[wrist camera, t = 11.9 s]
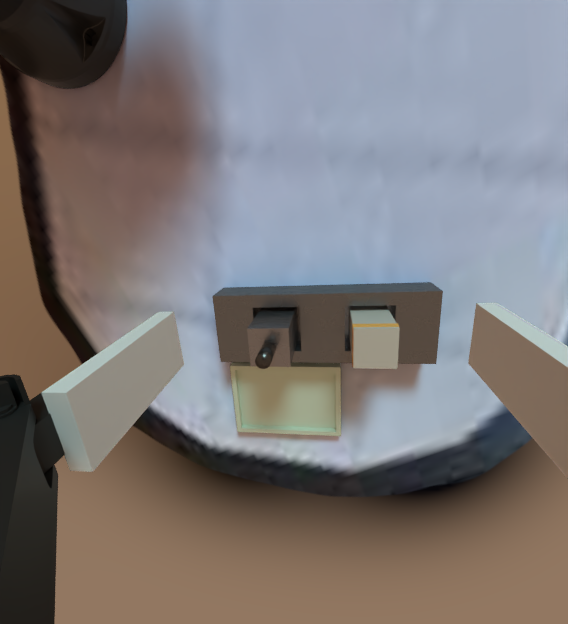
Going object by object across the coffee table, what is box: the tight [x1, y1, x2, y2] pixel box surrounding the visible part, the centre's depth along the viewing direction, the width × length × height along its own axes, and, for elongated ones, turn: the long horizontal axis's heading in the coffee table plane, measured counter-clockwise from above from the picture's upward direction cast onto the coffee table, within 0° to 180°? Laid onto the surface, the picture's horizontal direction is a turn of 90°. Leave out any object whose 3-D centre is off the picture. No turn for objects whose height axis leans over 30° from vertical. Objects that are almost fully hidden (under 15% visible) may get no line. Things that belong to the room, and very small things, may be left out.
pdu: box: [213, 283, 443, 369], centre depth 33 cm, size 24×8×12 cm, turn 93°
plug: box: [349, 305, 400, 369], centre depth 33 cm, size 4×4×8 cm
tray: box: [230, 362, 341, 436], centre depth 42 cm, size 14×10×1 cm
